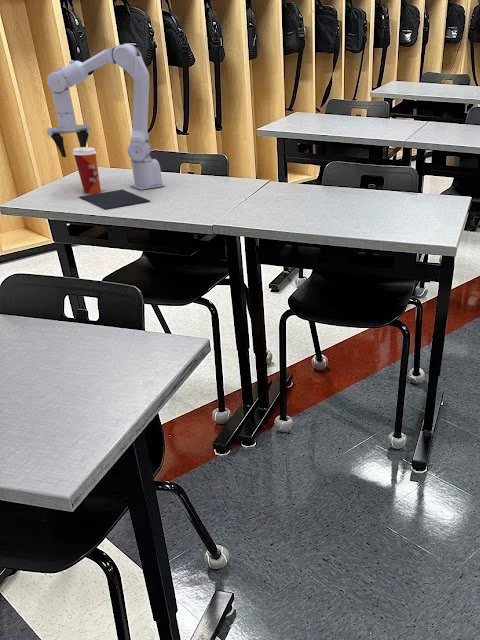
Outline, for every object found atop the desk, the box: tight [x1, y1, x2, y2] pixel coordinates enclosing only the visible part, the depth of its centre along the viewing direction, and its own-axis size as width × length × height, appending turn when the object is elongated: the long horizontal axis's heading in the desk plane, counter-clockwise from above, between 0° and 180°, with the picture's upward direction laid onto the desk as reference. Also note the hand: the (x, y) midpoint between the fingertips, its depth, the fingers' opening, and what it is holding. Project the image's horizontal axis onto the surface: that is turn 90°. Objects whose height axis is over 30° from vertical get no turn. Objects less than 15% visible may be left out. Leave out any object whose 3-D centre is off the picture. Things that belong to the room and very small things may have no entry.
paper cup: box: [72, 146, 102, 195], centre depth 228 cm, size 8×8×14 cm
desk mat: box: [79, 188, 151, 210], centre depth 224 cm, size 16×20×1 cm
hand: (74, 155), depth 232 cm, fingers open, 7 cm apart
